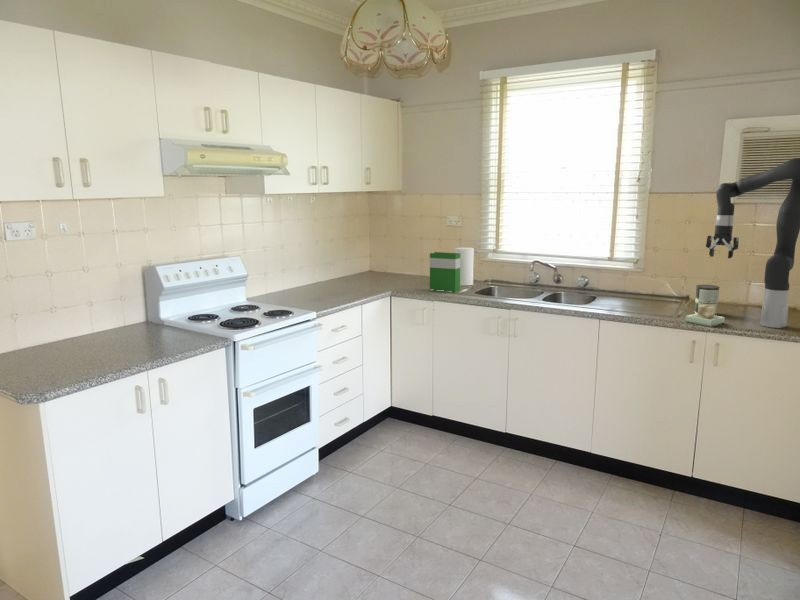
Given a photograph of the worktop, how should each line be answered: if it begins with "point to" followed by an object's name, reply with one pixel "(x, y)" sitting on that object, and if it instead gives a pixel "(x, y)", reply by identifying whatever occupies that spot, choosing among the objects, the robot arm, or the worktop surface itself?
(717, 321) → the tray
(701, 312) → the maple block
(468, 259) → the cylinder
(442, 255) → the green cereal box
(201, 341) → the worktop surface
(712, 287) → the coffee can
